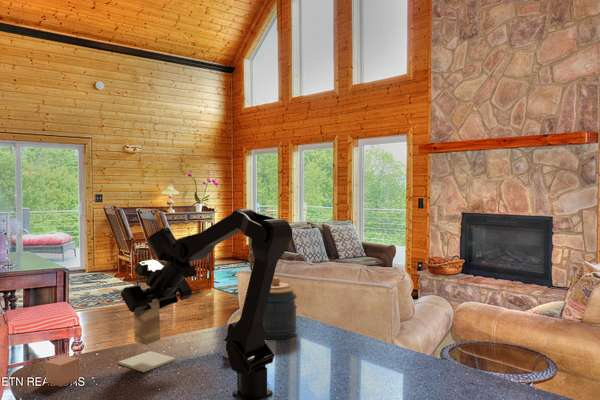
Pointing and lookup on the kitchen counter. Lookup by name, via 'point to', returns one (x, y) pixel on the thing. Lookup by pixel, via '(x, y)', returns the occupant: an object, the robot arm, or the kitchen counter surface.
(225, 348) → the rook chess piece
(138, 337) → the brown block
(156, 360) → the pad
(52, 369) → the terracotta block
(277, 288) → the canister
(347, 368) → the kitchen counter surface
